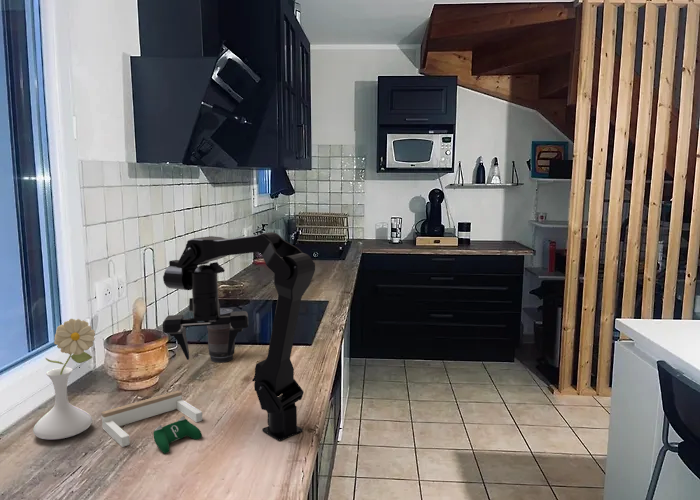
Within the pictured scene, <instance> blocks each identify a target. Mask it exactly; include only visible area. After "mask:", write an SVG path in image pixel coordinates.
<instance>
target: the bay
mask: <svg viewBox="0 0 700 500" xmlns="http://www.w3.org/2000/svg"><path fill="white" fill-rule="evenodd" d="M182 393H183V392H182V391H180V389H179V390H175V391H172V392H171V391H170V392H168V393H164V394H161V395H157V396H154V397H150V398H146V399H143V400H139V401H136V402H132V403H128V404H125V405H122V406H118V407H114V408H111V409H107V410H104V411H101V423H102V424H101V425H102V427H101V428H102V429H103V430H104V431H105V432H106V433H107V434H108V436H110V437H111V438H112V439H113V440H114V441H115V442H116V443H117V444H118V445H120V447H122V448H124V447H126V446H130V435H129V433H127V432H126V431H125V430H123V429H122V428H121V426H125V425H129V424H131V423H134V422H138V421H141V420H145V419H147V418H150V417H154V416H157V415H161V414H165V413H166V412H171V411H175V410H177V411H178V412H180V413H182V414H183V415H184V416H186V417H188V418H189V419H191V421H194V422H195V423H199V422H201V421H203V411H202V410H200V409H199V408H197V407H195V406H193V405H192V404H190V403H189V402H187V401H185V400H184V399H183V394H182Z"/></svg>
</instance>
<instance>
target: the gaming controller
mask: <svg viewBox="0 0 700 500" xmlns="http://www.w3.org/2000/svg"><path fill="white" fill-rule="evenodd" d="M185 437H188V438H190V439H193V440H196V441H197V440H201V439H202V437H203V434H202V431H201V430H200V429H199V427H197V426H196V425H194V424H193V423H192V422H190V421H189V420H188V419H187V418H186V417H185V415H183V416H181V417H180V418H179V419H178V420H177V421H174V422H172V423H171V422H170V423H169V424H166V425H164V426H163V425H162V424H160V425H158V426H157V427H156V428H155V429H154V430H153V440H154V443H155V445H156V446H157V448H158V449H159V450H160V451H161V452H162V453H163V454H164V455H165V454H168V453H170V444H172V443H174V442H175V441H177V440H183V438H185Z"/></svg>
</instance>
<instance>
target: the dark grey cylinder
mask: <svg viewBox="0 0 700 500" xmlns="http://www.w3.org/2000/svg"><path fill="white" fill-rule="evenodd" d="M231 312H234V310H233V309H231V308H224V307H223V308H220V315H219V317H221V316H230V315H231ZM209 322H210V321H209ZM211 322H212V321H211ZM206 328H207V340H208V341H207V348H208V355H209V356H210V361H211V362H214V363H226V362H229V361H232V360H233V359H234V354H235V349H236V344H235V343H236V342H235V341H236V339H235V340H234V343H233V346H232V350H231V354H230V357H228V341H229V330H230V324H224V325H208V326H206Z"/></svg>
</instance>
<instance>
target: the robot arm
mask: <svg viewBox="0 0 700 500" xmlns="http://www.w3.org/2000/svg"><path fill="white" fill-rule="evenodd" d="M252 253H259V254H261V256H262V258H263V261H264V262H265V265H266V267H267V268H268V269H270V270H271V272H273V274H274V275H273V284H274V287H275V289H276V291H277V292H276V293H277V301H276V306H275V312H274V317H273V322H272V323H273V324H272V329H271V335H270V340H269V346H268V351H267V356H266V359H264V360H262V361H259V362H257V363H256V364H255V368H254V377H253V378H252V379H251V381H252V382H254V383H253V386H254V387H253V388H254V391H255V393H256V395H257V398H258V402H259V405H260V409H261V410H263V411H266V413H267V426H265V427H263V428H262V430H261V432H263V433H265V434H267V435H268V436H270V437H272V438H273V439H275V440H277V441H283V440H285V439H287V438H290V437H292V436H296V435H297V434H300V433H302V432H303V431H304V430H303V428H302V427H300V426H298V423H297V421H298V418H297V417H298V414H297V410H298V409H297V405H296V403H297V402H299V401H301V400H302V398H303V397H304V393H305V392H304V389H302V387H301V385H299V383H298V381H296V380H295V378H294V376H295V373H294V372H295V369H294V366H293V364H292V361H291V354H292V351H293V344H294V340H295V339H294V338H295V335H296V329H297V324H298V323H297V322H298V319H299V314H300V313H299V312H300V308H301V307H300V306H301V301H302V297H303V295H305V293H306V291H307V289H308V288H309V287H310V285H311V283H312V280H313V277H314V275H315V273H316V263H315V262H314V260H313V259H312V257H311V256H310V255H309V254H307V253H304V252H303V250H301V249H300V248H299V247H297V246H296V245H294V244H292V243H290V242H288V241H287V240H285V239H284V238H283V237H282V236H281V235H280V234H278V233H277V232H275V231H269V232H262V233H258V234H256V235H248V236H246V235H245V236H242V237H231V238H224V237H222V236H213V235H209V236H203V237H202V236H201V237H196V238H189V239H188V240H187V241H186V244H185V248H184V249H183V251H182V253H181V256H180V257H179V259H174V260H169V263H168V265H169V266H168V267H166V268H165V271H164V272H163V273H164V274H163V276H162V279H163V284H164V285H165V287H166V288H168V289H174V290H182V291H183V290H184V291H191V293H192V295H191V296H192V297H191V298H189V300H188V301H189V303H188V306H189V307H188V308H189V309H188V310H189V312H190V313H193V317H192V318H191V317H190V318H188V317H187V318H185V317H184V314H172V315H167V316H166V317H165V318H164V320H163V321H162V333H164V334H168V335H169V336H170V337H174V339H175V340H176V342H177V343H178V345H179V346H180V349H181V350H182V353H183V355H184V357H185V358H186V360H187V361H189V360H190V350H189V345H188V337H187V329H186V328H188V327H189V328H190V327H205V326H206V327H207V326H208V325H224V324H230V330H229V341H228V357H230V354H231V350H232V346H233V343H234V340H235V341H236V338H237V335H238V333H241V332H243V330H244V329H245V328H246V329H247V328H249V313H248V312H247V311H246V310H241V311H239V310H237V311H233V312H231V315H230V316H221V317H219V315H220V309H221V303H220V301H219V287H218V286H219V285H218V283H219V282H218V274H221V273H224V272H225V268H224V267H223V266H221V265H220V264H219V263H218V262H217V261H218V260H221V259H223V258H225V257H227V256H232V255H244V254H252ZM214 261H215V262H214ZM208 264H209V265H208ZM209 321H210V322H209ZM211 321H212V322H211Z"/></svg>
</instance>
